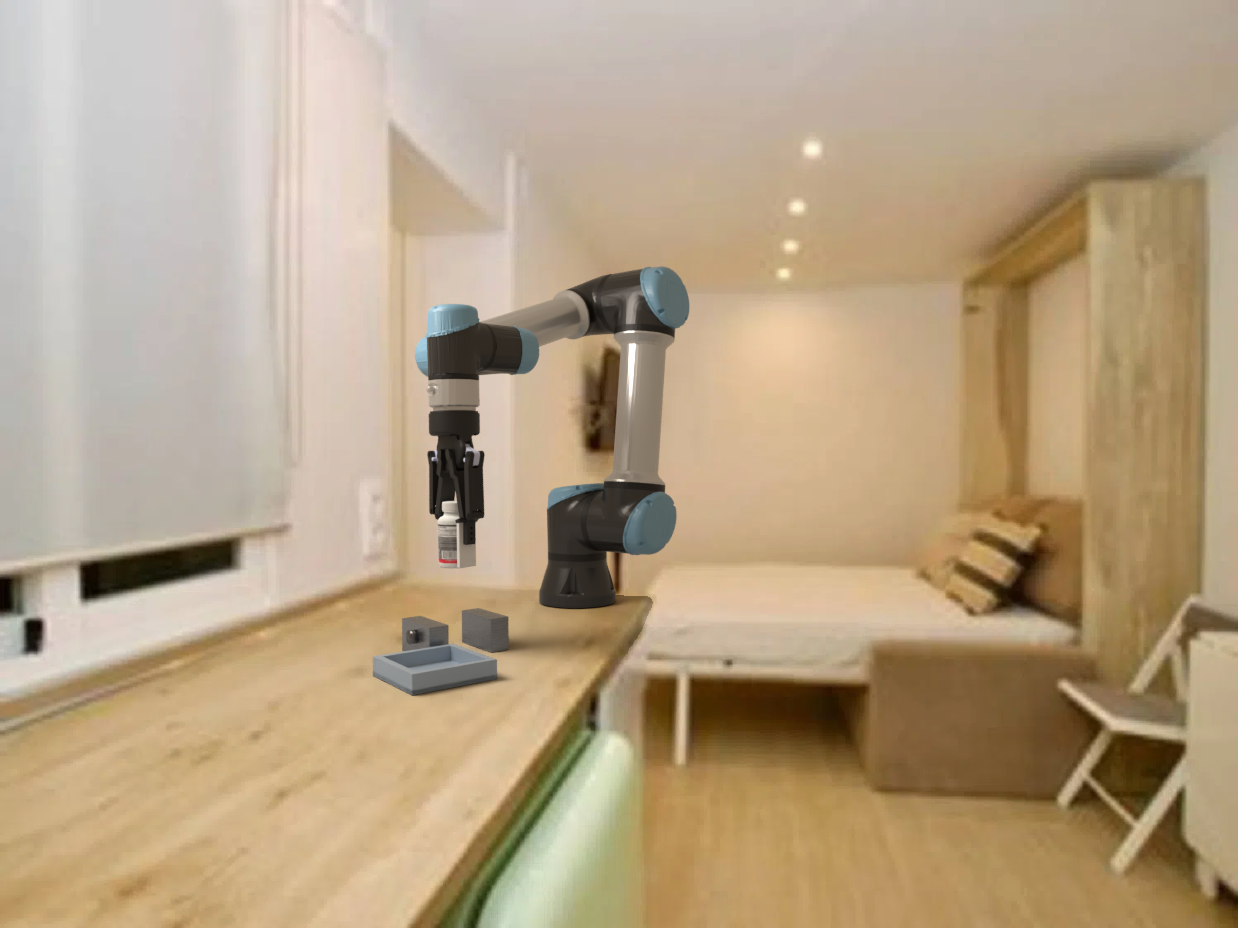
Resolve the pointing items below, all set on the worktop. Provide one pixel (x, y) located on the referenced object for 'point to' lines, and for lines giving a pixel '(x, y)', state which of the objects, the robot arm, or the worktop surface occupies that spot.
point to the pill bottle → (448, 535)
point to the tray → (434, 668)
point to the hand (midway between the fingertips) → (456, 563)
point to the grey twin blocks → (476, 631)
